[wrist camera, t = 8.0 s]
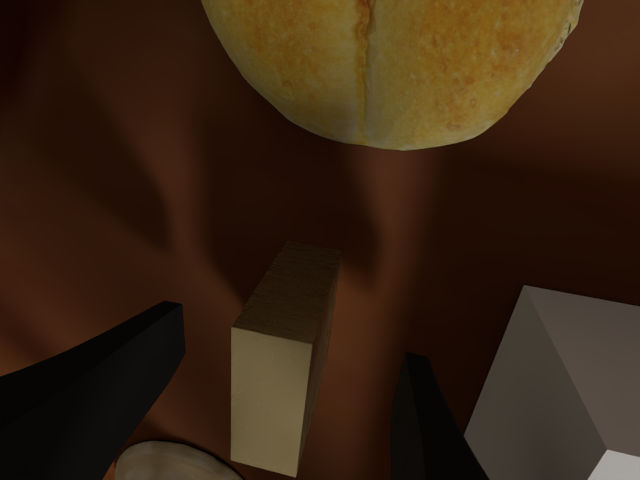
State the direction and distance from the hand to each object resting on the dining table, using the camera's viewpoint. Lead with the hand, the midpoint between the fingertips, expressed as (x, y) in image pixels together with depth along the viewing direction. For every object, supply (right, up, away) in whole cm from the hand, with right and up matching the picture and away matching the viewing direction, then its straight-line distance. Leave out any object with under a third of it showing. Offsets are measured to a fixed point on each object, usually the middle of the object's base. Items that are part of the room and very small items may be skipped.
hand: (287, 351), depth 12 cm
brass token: (+1, +1, +2) cm, 3 cm away
